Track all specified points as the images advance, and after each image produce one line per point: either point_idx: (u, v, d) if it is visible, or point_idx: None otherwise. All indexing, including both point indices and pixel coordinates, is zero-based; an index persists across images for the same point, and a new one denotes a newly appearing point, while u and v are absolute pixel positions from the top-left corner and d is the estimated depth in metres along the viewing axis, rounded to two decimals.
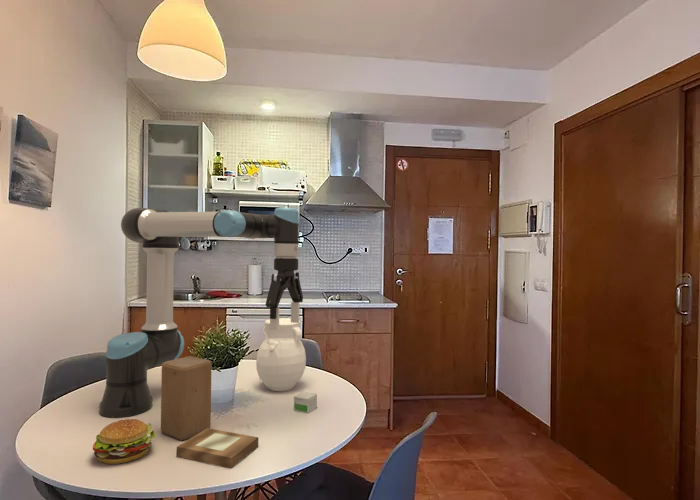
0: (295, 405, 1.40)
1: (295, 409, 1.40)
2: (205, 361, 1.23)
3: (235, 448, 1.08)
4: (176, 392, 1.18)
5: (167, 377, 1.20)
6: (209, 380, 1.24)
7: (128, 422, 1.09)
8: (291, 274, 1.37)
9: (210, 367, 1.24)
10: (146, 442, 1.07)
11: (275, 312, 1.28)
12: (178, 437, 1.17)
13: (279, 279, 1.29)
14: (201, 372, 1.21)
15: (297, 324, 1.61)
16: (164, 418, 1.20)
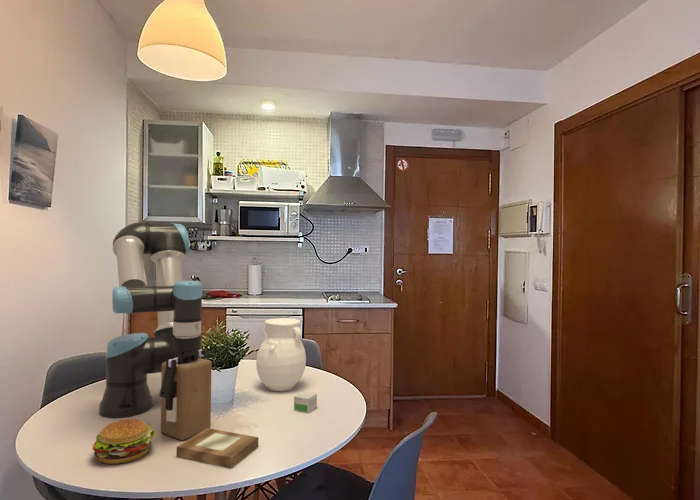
0: (295, 405, 1.40)
1: (295, 409, 1.40)
2: (205, 361, 1.23)
3: (235, 448, 1.08)
4: (176, 392, 1.18)
5: None
6: (209, 380, 1.24)
7: (128, 422, 1.09)
8: (194, 353, 1.24)
9: (210, 367, 1.24)
10: (146, 442, 1.07)
11: (171, 403, 1.17)
12: (178, 437, 1.17)
13: (174, 365, 1.17)
14: (201, 372, 1.21)
15: (297, 324, 1.61)
16: (164, 418, 1.20)
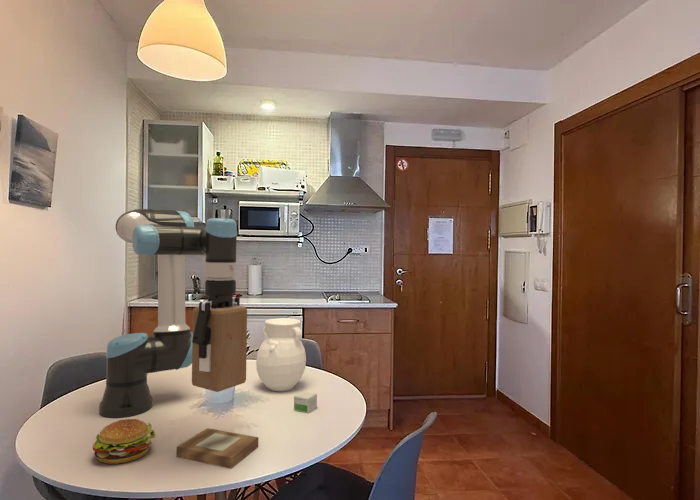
0: (295, 405, 1.40)
1: (295, 409, 1.40)
2: (240, 307, 1.11)
3: (235, 448, 1.08)
4: None
5: None
6: (245, 328, 1.12)
7: (128, 422, 1.09)
8: (227, 299, 1.12)
9: (246, 314, 1.12)
10: (146, 442, 1.07)
11: (205, 350, 1.05)
12: (212, 388, 1.05)
13: (208, 308, 1.05)
14: (237, 318, 1.09)
15: (297, 324, 1.61)
16: (196, 369, 1.08)
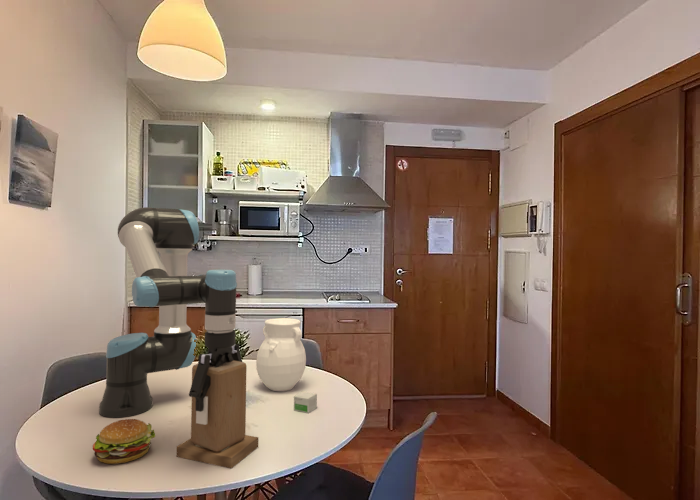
0: (295, 405, 1.40)
1: (295, 409, 1.40)
2: (240, 363, 1.11)
3: (235, 448, 1.08)
4: (209, 398, 1.06)
5: None
6: (244, 384, 1.12)
7: (128, 422, 1.09)
8: (227, 350, 1.12)
9: (245, 370, 1.12)
10: (146, 442, 1.07)
11: (202, 403, 1.04)
12: (212, 448, 1.05)
13: (208, 361, 1.05)
14: (236, 376, 1.09)
15: (297, 324, 1.61)
16: (195, 427, 1.08)
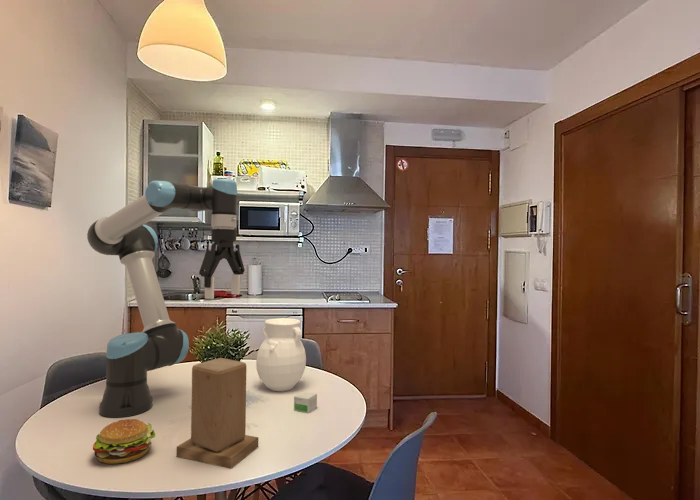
0: (295, 405, 1.40)
1: (295, 409, 1.40)
2: (240, 363, 1.11)
3: (235, 448, 1.08)
4: (209, 398, 1.06)
5: (198, 381, 1.08)
6: (244, 384, 1.12)
7: (128, 422, 1.09)
8: (229, 245, 1.38)
9: (245, 370, 1.12)
10: (146, 442, 1.07)
11: (209, 281, 1.29)
12: (212, 448, 1.05)
13: (214, 249, 1.30)
14: (236, 376, 1.09)
15: (297, 324, 1.61)
16: (195, 427, 1.08)
